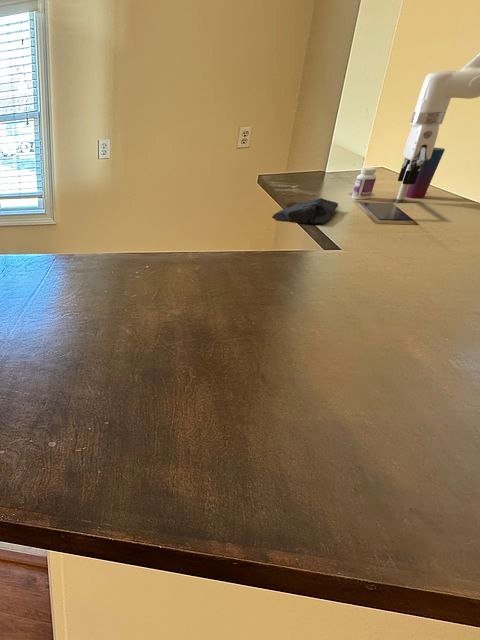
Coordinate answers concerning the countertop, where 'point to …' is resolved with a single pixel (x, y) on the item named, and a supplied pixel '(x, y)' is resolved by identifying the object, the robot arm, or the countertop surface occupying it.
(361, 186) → the pill bottle
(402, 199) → the stylus
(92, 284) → the countertop surface
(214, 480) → the countertop surface
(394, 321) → the countertop surface
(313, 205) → the dark slate chunk
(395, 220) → the tablet
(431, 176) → the cup
